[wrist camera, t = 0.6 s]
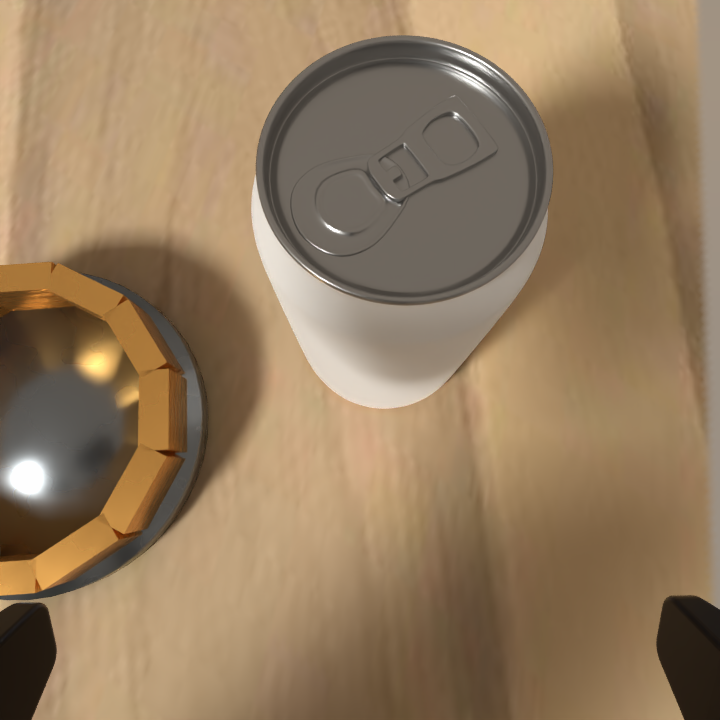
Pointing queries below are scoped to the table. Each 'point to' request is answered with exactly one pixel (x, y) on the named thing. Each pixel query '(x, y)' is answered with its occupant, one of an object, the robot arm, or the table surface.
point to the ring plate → (89, 428)
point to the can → (399, 211)
